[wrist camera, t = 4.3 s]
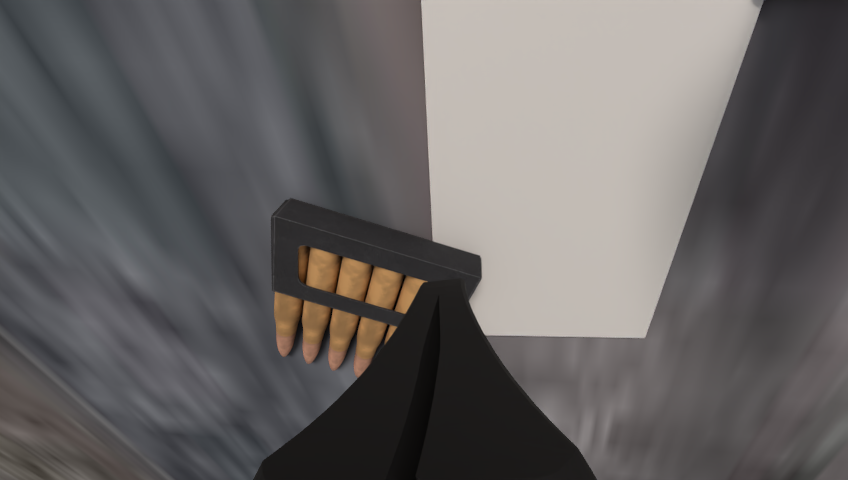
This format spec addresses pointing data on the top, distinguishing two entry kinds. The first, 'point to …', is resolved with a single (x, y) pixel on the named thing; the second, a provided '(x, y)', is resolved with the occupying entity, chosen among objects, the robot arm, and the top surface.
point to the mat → (573, 148)
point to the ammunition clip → (351, 279)
